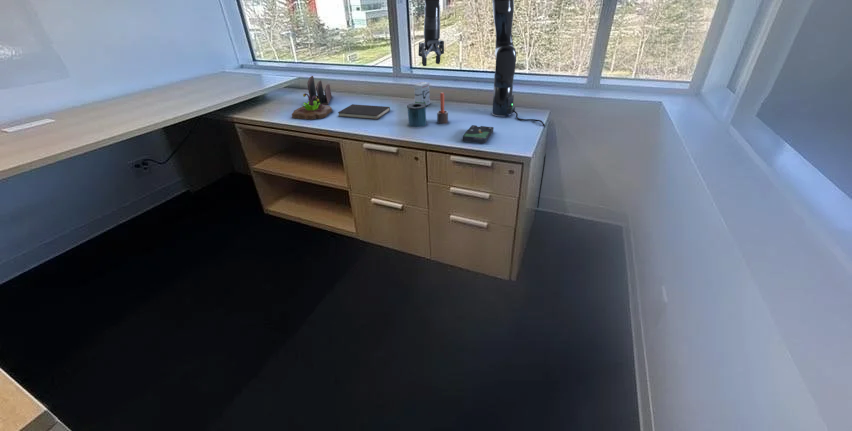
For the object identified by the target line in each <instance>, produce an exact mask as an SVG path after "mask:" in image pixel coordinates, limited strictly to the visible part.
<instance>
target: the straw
mask: <svg viewBox="0 0 852 431" xmlns="http://www.w3.org/2000/svg"><path fill="white" fill-rule="evenodd" d="M439 94H440V96H439V98H440V111H441V113H444V110H445V92H440V93H439Z"/></svg>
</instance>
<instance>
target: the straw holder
mask: <svg viewBox="0 0 852 431" xmlns="http://www.w3.org/2000/svg"><path fill="white" fill-rule="evenodd" d="M436 123H437V124H439V125H444V124H445V125H446V124H448V123H449V111H448V110H445V109H444V113H441V110H438V111H437V112H436Z"/></svg>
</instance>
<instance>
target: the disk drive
mask: <svg viewBox="0 0 852 431" xmlns="http://www.w3.org/2000/svg"><path fill="white" fill-rule="evenodd" d="M494 129H495V128H494V127H493V126H484V125H481V126H478V125H475V124H474V125H473V124H471V125H470V127H469V128H468V129H467V130H466V131H465V133H463V135H462V138H461V139H462V142H466V143H474V144H475V143H476V144H486V143H487V142H488V141H489V139H490V138H491V136H492V135H493V133H494Z"/></svg>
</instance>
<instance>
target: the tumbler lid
mask: <svg viewBox="0 0 852 431" xmlns="http://www.w3.org/2000/svg"><path fill="white" fill-rule="evenodd" d="M415 105H420V106H419V107H413V106H415ZM425 107H426V108H427V105H426V104H424V103H415V102H413V103H408V104H406V108H407V109H408V108H409V109H423V108H425Z"/></svg>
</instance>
